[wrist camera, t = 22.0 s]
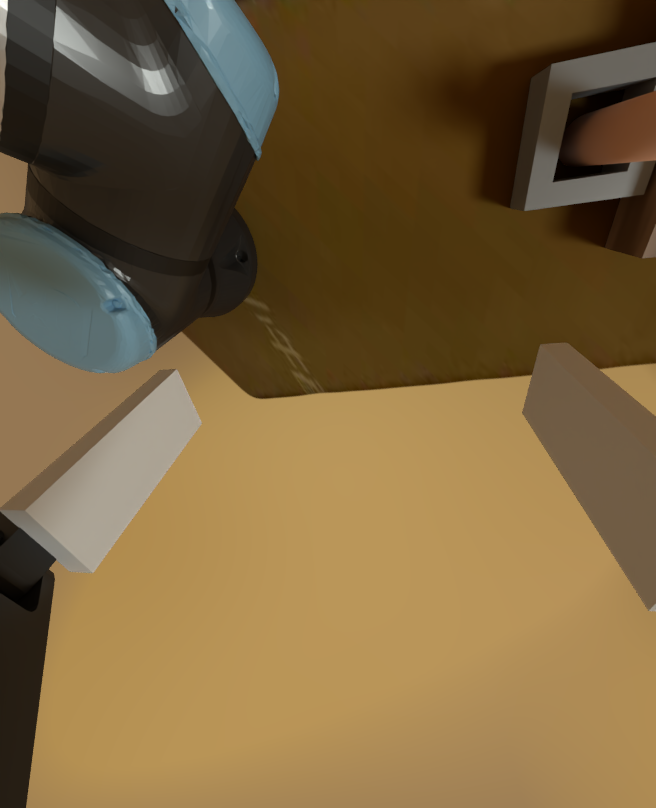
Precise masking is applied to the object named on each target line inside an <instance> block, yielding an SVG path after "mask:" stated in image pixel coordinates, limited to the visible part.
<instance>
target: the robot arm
mask: <svg viewBox="0 0 656 808" xmlns="http://www.w3.org/2000/svg"><path fill="white" fill-rule="evenodd" d="M278 98H279V84H278V78H277V73H276V70H275V67H274V64H273V62H272V60H271V57H270V55H269V53H268V51H267V49H266V48H265V46H264V44H263V43H262V41H261V39H260V38H259V36H258V35H257V33H256V31H255V30H254V28H253V27H252V25H251V24H250V23H249V21H248V20H247V18H246V17H245V15H244V14H243V12H242V11H241V9H240V8H239V6H238V5H237V4H236V2H235V1H234V0H0V152H2V153H4V154H6V155H9V156H11V157H14V158H16V159H19V160H21V161H24V162H27V163H28V172H27V185H26V197H25V207H24V210H23V212H22V214H19V213H1V214H0V313H1V314H2V315H3V316H4V317H5V318H6V319H7V320H8V321H9V322H10V324H11V325H12V326H13V327H14V328H15V329H16V330H17V331H18V332H19V333H20V334H22V335H23V336H24V337H25V338H26V339H27V340H29V341H30V342H31V343H33V344H34V345H35V346H37V347H38V348H39V349H41V350H43V351H44V352H46V353H47V354H49V355H51V356H52V357H54V358H56V359H58V360H60V361H62V362H64V363H66V364H68V365H70V366H73V367H75V368H79V369H81V370H85V371H89V372H95V373H105V372H108V373H117V372H121V371H125V370H127V369H129V368H131V367H132V366H134V365H136V364H138V363H139V362H141V361H144V360H147V359H149V358H150V357H151V356H152V355H153V354H154V353H155V351H156V350H158V349H159V348H160V347H161V346H163V345H164V344H165V343H167V342H168V341H169V340H170V339H172V338H173V337H174V336H176V335H177V334H178V333H180V332H181V331H182V330H184V329H185V328H186V327H187V326H189V325H190V324H191V323H193V322H194V321H195V320H196V319H198V318H202V317H215V316H220V315H223V314H226V313H228V312H230V311H232V310H233V309H235V308H236V307H237V306H238V305H239V304H241V303H242V302H243V301H244V300H245V299H246V298H247V296H248V295H249V293H250V292H251V290H252V288H253V285H254V283H255V279H256V274H257V254H256V249H255V245H254V241H253V238H252V236H251V233H250V231H249V229H248V227H247V225H246V223H245V221H244V220H243V218H242V217H241V215H240V214H239V213H238V211H237V210H236V209H235V208H234V207H235V205H236V202H237V200H238V198H239V196H240V194H241V191H242V189H243V187H244V185H245V182H246V180H247V178H248V176H249V173H250V171H251V169H252V167H253V165H254V162H255V160H257V161H258V160H259V158H260V157H261V153H262V152H261V145H262V143H263V140H264V138H265V135H266V133H267V130H268V128H269V125H270V123H271V120H272V118H273V115H274V112H275V110H276V107H277V103H278ZM522 413H523V415H524V416H525V418H526V420H527V421H528V423H529V424H530V426H531V427H532V429H533V430H534V432H535V434H536V435H537V437H538V438H539V440H540V441H541V443H542V445H543V446H544V448H545V449H546V451H547V452H548V454H549V456H550V457H551V459H552V460H553V462H554V463H555V465H556V467H557V468H558V470H559V471H560V473H561V474H562V476H563V478H564V479H565V481H566V482H567V484H568V485H569V487H570V489H571V490H572V492H573V493H574V495H575V496H576V498H577V499H578V501H579V503H580V504H581V506H582V507H583V509H584V510H585V512H586V514H587V515H588V517H589V518H590V520H591V521H592V523H593V525H594V526H595V528H596V529H597V531H598V532H599V534H600V535H601V537H602V538H603V540H604V542H605V543H606V545H607V546H608V548H609V550H610V551H611V553H612V554H613V556H614V557H615V559H616V561H617V562H618V564H619V565H620V567H621V568H622V570H623V571H624V573H625V575H626V576H627V578H628V579H629V581H630V582H631V584H632V586H633V587H634V589H635V590H636V592H637V593H638V595H639V597H640V598H641V600H642V601H643V603H644V604H645V606H646V607H647V609H648V611H656V416H654V415H653V414H652V413H651V412H650V411H648V410H647V409H646V408H645V407H644V406H642V405H641V404H640V403H639V402H638V401H636V400H635V399H634V398H633V397H632V396H630V395H629V394H628V393H627V392H626V391H624V390H623V389H622V388H621V387H620V386H618V385H617V384H616V383H615V382H614V381H612V380H611V379H610V378H609V377H608V376H606V375H605V374H604V373H603V372H602V371H600V370H599V369H598V368H597V367H596V366H594V365H593V364H592V363H591V362H590V361H588V360H587V359H586V358H585V357H584V356H582V355H581V354H580V353H579V352H578V351H576V350H575V349H574V348H573V347H572V346H570V345H569V344H568V343H554V344H540V348H539V351H538V355H537V359H536V363H535V366H534V370H533V374H532V378H531V381H530V385H529V389H528V393H527V396H526V400H525V404H524V408H523V412H522ZM201 424H202V422H201V420H200V418H199V416H198V414H197V412H196V409H195V407H194V405H193V403H192V401H191V399H190V396H189V394H188V392H187V390H186V388H185V386H184V383H183V381H182V379H181V377H180V375H179V373H178V370H177V369H172V370H171V369H170V370H160V371H158V372H157V373H156V374H155V375H154V376H153V377H151V378H150V379H149V380H148V381H147V382H146V383H144V384H143V385H142V386H141V387H140V388H139V389H137V390H136V391H135V392H134V393H133V394H132V395H131V396H129V397H128V398H127V399H126V400H125V401H124V402H122V403H121V404H120V405H119V406H118V407H117V408H115V409H114V410H113V411H112V412H111V413H110V414H109V415H107V416H106V417H105V418H104V419H103V420H102V421H100V422H99V423H98V424H97V425H96V426H95V427H93V428H92V429H91V430H90V431H89V432H88V433H87V434H86V435H84V436H83V437H82V438H81V439H80V440H78V441H77V442H76V443H75V444H74V445H73V446H71V447H70V448H69V449H68V450H67V451H66V452H65V453H63V454H62V455H61V456H60V457H59V458H58V459H56V461H54V462H53V463H52V464H51V465H49V466H48V467H47V468H46V469H45V470H44V471H43V472H41V473H40V474H39V475H38V476H37V477H36V478H35V479H33V480H32V481H31V482H30V483H29V484H27V485H26V486H25V487H24V488H23V489H22V490H20V492H18V493H17V494H16V495H15V496H14V497H12V498H11V499H10V500H9V501H8V502H7V503H5V504H4V505H3V506H2V507H1V508H0V808H26V802H27V795H28V787H29V779H30V771H31V763H32V755H33V747H34V739H35V731H36V724H37V716H38V707H39V700H40V692H41V684H42V676H43V669H44V661H45V653H46V645H47V636H48V629H49V621H50V613H51V605H52V597H53V589H54V581H55V578H54V573H53V572H51V571H50V570H49V568H50V567H51V565H52V564H53V563H54V562H55V561H56V560H57V561H58V562H59V563H60V564H62V565H63V566H64V567H65V568H66V569H67V570H69V571H70V572H84V573H93V572H94V571H95V570H96V568H97V567H98V565H99V564H100V563H101V561H102V560H103V559H104V557H105V556H106V554H107V553H108V552H109V550H110V549H111V548H112V546H113V545H114V543H115V542H116V541H117V539H118V538H119V537H120V535H121V534H122V532H123V531H124V530H125V528H126V527H127V525H128V524H129V523H130V521H131V520H132V518H133V517H134V516H135V515H136V513H137V512H138V510H139V509H140V508H141V506H142V505H143V503H144V502H145V501H146V499H147V498H148V497H149V495H150V494H151V492H152V491H153V490H154V488H155V487H156V486H157V484H158V483H159V481H160V480H161V479H162V477H163V476H164V475H165V473H166V472H167V470H168V469H169V468H170V466H171V465H172V463H173V462H174V461H175V459H176V458H177V457H178V455H179V454H180V453H181V451H182V450H183V448H184V447H185V446H186V444H187V443H188V441H189V440H190V439H191V437H192V436H193V434H194V433H195V432H196V431H197V429H198V428H199V426H200V425H201Z"/></svg>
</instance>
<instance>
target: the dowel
mask: <svg viewBox="0 0 656 808" xmlns="http://www.w3.org/2000/svg"><path fill="white" fill-rule="evenodd" d="M559 159H560V161H561V162H562V163H563V164H564V165H565V166H568V167H581V166H593V165H605V164H617V163H629V162H641V161H653V160H656V91H653V92H650V93H647V94H644V95H641V96H638V97H635V98H632V99H629V100H626V101H623V102H620V103H617V104H614V105H611V106H608V107H605V108H602V109H599V110H596V111H593V112H590V113H587V114H584V115H582V116H580V117H578V118H577V119H575V120H574V121H573V122H572V123H571V124H570V125H569V126H568V127H567V129H566V130H565V131H564V133H563V138H562V142H561V147H560V151H559Z"/></svg>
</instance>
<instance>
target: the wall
mask: <svg viewBox="0 0 656 808" xmlns="http://www.w3.org/2000/svg"><path fill="white" fill-rule="evenodd" d="M605 248H607V249H610V250H614V251H618V252H621V253H625V254H628V255H632V256H635V257H639V258H650V257H656V163H655V165H654V168H653V171H652V174H651V176H650V179H649V182H648V185H647V187H646V190H645V193H644V195H636V196H629V197H622V198H621V199H620V202H619V205H618V208H617V211H616V214H615V217H614V220H613V224H612V227H611V230H610V233H609V236H608V239H607V242H606V245H605Z"/></svg>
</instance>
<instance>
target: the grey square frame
mask: <svg viewBox="0 0 656 808" xmlns="http://www.w3.org/2000/svg"><path fill="white" fill-rule="evenodd" d="M623 89H625V92H624V95H623V99H622V102H623V101H626V100H629V99H632V98H635V97H638V96H641V95H644V94H647V93H650V92H653V91H656V42H653V43H649V44H644V45H639V46H634V47H630V48H625V49H620V50H616V51H611V52H606V53H601V54H597V55H592V56H587V57H582V58H578V59H573V60H568V61H564V62H559V63H554V64H551V65H550V66H548V67H547V68H545V69H544V70H542V71H541V72H539V73H538V74H536V75H535V76H533V77H532V78H531V83H530V89H529V95H528V101H527V107H526V113H525V119H524V126H523V132H522V138H521V144H520V150H519V156H518V162H517V168H516V174H515V180H514V186H513V192H512V198H511V204H510V208H511V209H517V210H522V211H527V210H534V209H542V208H549V207H556V206H564V205H571V204H578V203H585V202H593V201H600V200H607V199H615V198H622V197H629V196H636V195H644V193H645V190H646V187H647V185H648V182H649V179H650V176H651V174H652V171H653V168H654V165H655V163H656V160H653V161H641V162H629V163H617V164H605V165H603V168H602V171H601V173H595V174H588V175H582V176H575V177H568V178H562V179H555V180H553V179H554V174H555V170H556V165H557V160H558V156H559V151H560V147H561V142H562V138H563V133H564V129H565V124H566V120H567V115H568V111H569V106H570V102H571V99H576V98H581V97H586V96H592V95H597V94H602V93H607V92H613V91H618V90H623Z"/></svg>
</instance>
